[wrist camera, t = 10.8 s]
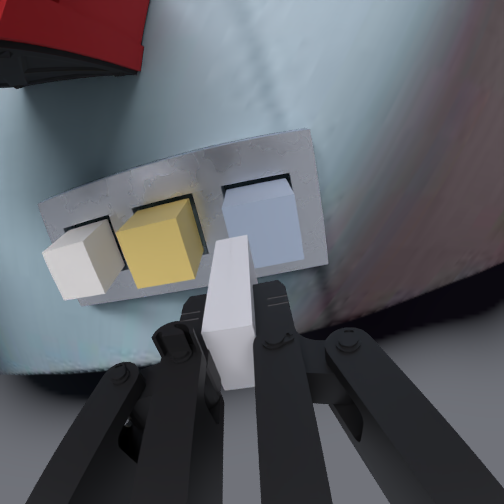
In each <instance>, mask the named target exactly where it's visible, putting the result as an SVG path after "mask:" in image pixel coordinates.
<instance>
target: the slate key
mask: <svg viewBox="0 0 504 504" xmlns="http://www.w3.org/2000/svg"><path fill="white" fill-rule="evenodd" d="M222 212H223V216H224V220H225V224H226V228H227V232H228V236H229V238H233V237H238V236H243V235H247V236H248V240H249V245H250V249H251V254H252V258H253V263H254V267H255V268H261V267H266V266H271V265H277V264H282V263H287V262H292V261H298V260H303V259H304V253H303V246H302V239H301V232H300V226H299V219H298V213H297V207H296V201H295V195H294V192H293V191H292V189H291V187H290V185H289V183H288V182H287V180H286V178H283V179H278V180H273V181H267V182H262V183H257V184H252V185H247V186H242V187H237V188H233V189H228V190H226V194H225V198H224V201H223V205H222Z"/></svg>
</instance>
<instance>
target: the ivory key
mask: <svg viewBox="0 0 504 504" xmlns="http://www.w3.org/2000/svg"><path fill="white" fill-rule="evenodd" d="M42 254H43V257H44V259H45V261H46V263H47V266H48V268H49V270H50V272H51V274H52V277H53V279H54V281H55V283H56V285H57V287H58V289H59V291H60V293H61V295H62V297H63V299H64V300H70V299H76V298H82V297H88V296H94V295H101V294H105V293H106V292H107V291H108V289H109V288H110V286H111V285H112V283H113V282H114V280H115V279H116V277H117V276H118V274H119V273H120V272H121V270H122V269H123V267H124V266H125V264H124V261H123V259H122V256H121V254H120V251H119V249H118V246H117V243H116V241H115V238H114V235H113V233H112V230H111V227H110V224H109V222H108V219H105V220H102V221H98V222H95V223H91V224H88V225H85V226H81V227H78V228H75V229H72V230H69V231H67V232H66V233H65V234H64V235H62V236H61V237H60V238H59V239H58V240H56V241H55V242H54V243H53V244H51V245H50V246H49V247H48V248H47V249H46V250H44V251H43V252H42Z"/></svg>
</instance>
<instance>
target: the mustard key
mask: <svg viewBox="0 0 504 504" xmlns="http://www.w3.org/2000/svg"><path fill="white" fill-rule="evenodd" d="M116 236H117V238H118V241H119V244H120V246H121V249H122V252H123V254H124V257H125V259H126V262H127V264H128V267H129V269H130V272H131V274H132V277H133V279H134V281H135V284H136V286H137V288H138V289H140V288H146V287H152V286H158V285H164V284H169V283H175V282H181V281H186V280H192V279H195V278H196V274H197V271H198V268H199V264H200V261H201V257H202V254H203V251H204V249H203V245H202V242H201V239H200V235H199V232H198V228H197V225H196V221H195V218H194V214H193V211H192V207H191V203H190V200H189V198H187V199H183V200H179V201H175V202H170V203H166V204H162V205H158V206H154V207H151V208H147V209H143V210H139V211H137V212H136V213H135V214H134V215H133V216H132V217H131V218H130V219H129V220H128V221H127V222H126V223H125V224H124V225H123V226H122V227H121V228H120V229H119V230H118V231H117V232H116Z"/></svg>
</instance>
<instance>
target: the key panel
mask: <svg viewBox="0 0 504 504" xmlns="http://www.w3.org/2000/svg"><path fill="white" fill-rule="evenodd" d="M285 173H288V178H289V184H290V187H291V189H292V191H293V192H294V195H295V201H296V207H297V213H298V219H299V226H300V232H301V239H302V246H303V253H304V259H303V260H298V261H292V262H287V263H282V264H277V265H271V266H266V267H261V268H255V272H256V277H263V276H268V275H274V274H279V273H284V272H290V271H295V270H300V269H305V268H310V267H315V266H321V265H326V264H328V255H327V245H326V236H325V227H324V219H323V211H322V203H321V196H320V189H319V182H318V175H317V168H316V162H315V156H314V150H313V144H312V138H311V132H310V129H307V128H302V129H296V130H290V131H284V132H278V133H272V134H267V135H262V136H256V137H251V138H246V139H241V140H237V141H232V142H227V143H223V144H219V145H214V146H210V147H206V148H202V149H198V150H194V151H190V152H186V153H182V154H178V155H175V156H171V157H167V158H164V159H160V160H157V161H153V162H150V163H146V164H143V165H140V166H137V167H133V168H130V169H127V170H124V171H121V172H118V173H115V174H112V175H109V176H106V177H103V178H100V179H97V180H94V181H91V182H89V183H86V184H83V185H80V186H78V187H75V188H72V189H70V190H67V191H65V192H62V193H60V194H57V195H55V196H52V197H50V198H47V199H46V200H44V201H42V202H40V203H39V204H38V207H39V210H40V213H41V216H42V218H43V221H44V224H45V226H46V229H47V232H48V234H49V237H50V239H51V242H52V244H53V243H54V242H55V241H56V240H58V239H59V238H60V237H61V236H62V235H64V234H65V233H66V232H67V231H69V230H72V229H75V226H74V225H76V224H79V223H82V222H86V221H89V220H92V219H96V218H99V217H102V216H106V215H109V217H110V220H111V223H112V226H113V229H114V231H115V234H116V232H117V231H118V230H119V229H120V228H121V227H122V226H123V225H124V224H125V223H126V222H127V221H128V220H129V219H130V218H131V217H132V216H133V215H134V214H135V213H136V212H137V211H139V210H141V207H140V206H142V205H145V204H149V203H153V202H157V201H161V200H165V199H169V198H173V197H177V196H181V195H185V194H189V193H192V194H193V198H194V202H195V205H196V209H197V213H198V216H199V220H200V223H201V227H202V231H203V234H204V238H205V241H206V246H203V249H204V251H203V254H202V257H201V261H200V264H199V268H198V271H197V274H196V278H195V279H192V280H186V281H181V282H175V283H169V284H164V285H158V286H152V287H146V288H140V289H138V288H137V286H136V284H135V281H134V279H133V277H132V274H131V272H130V269H129V267H128V264H127V262H124V264H125V266H124V267H123V269H122V270H121V272H120V273H119V274H118V276H117V277H116V279H115V280H114V282H113V283H112V285H111V286H110V288H109V289H108V291H107V292H106V293H105V294H101V295H94V296H88V297H82V298H77V299H78V301H79V303H80V305H81V306H88V305H94V304H101V303H108V302H115V301H121V300H128V299H134V298H140V297H147V296H153V295H159V294H165V293H171V292H177V291H183V290H189V289H195V288H201V287H207V286H208V285H209V279H210V273H211V267H212V261H213V255H214V250H215V244H216V241H218V240H223V239H228V238H229V236H228V232H227V228H226V224H225V220H224V216H223V212H222V205H223V201H224V198H225V194H226V193H225V189H224V185H229V184H234V183H239V182H243V181H248V180H253V179H258V178H264V177H269V176H274V175H279V174H285ZM116 237H117V236H116ZM117 239H118V238H117ZM118 242H119V241H118ZM119 245H120V244H119ZM120 247H121V246H120ZM121 250H122V249H121ZM122 253H123V252H122ZM123 255H124V254H123ZM124 258H125V257H124ZM125 260H126V259H125Z"/></svg>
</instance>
